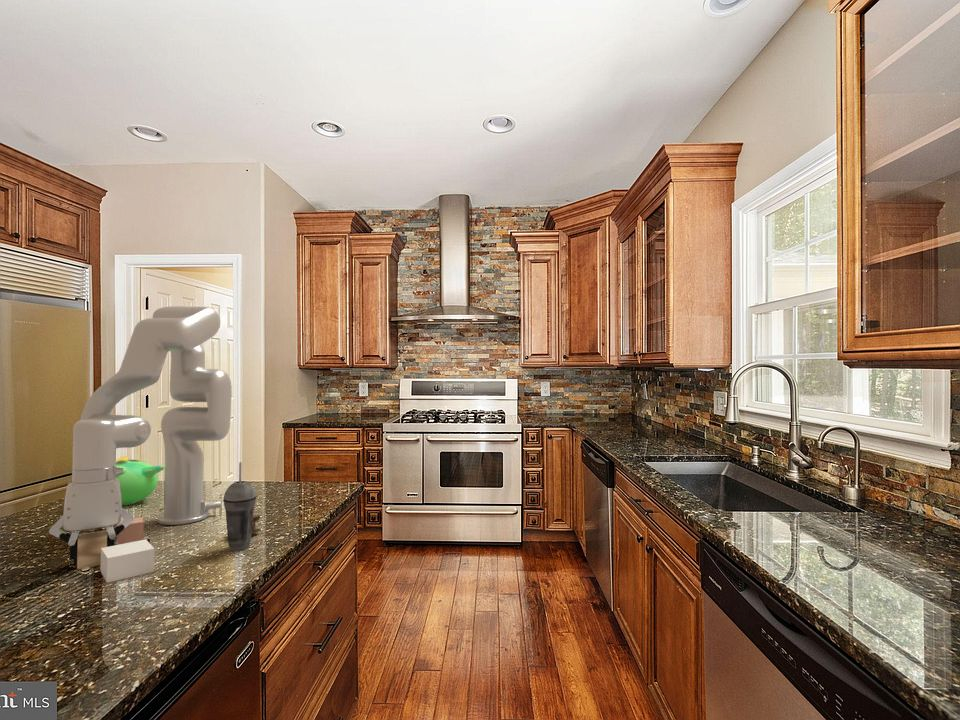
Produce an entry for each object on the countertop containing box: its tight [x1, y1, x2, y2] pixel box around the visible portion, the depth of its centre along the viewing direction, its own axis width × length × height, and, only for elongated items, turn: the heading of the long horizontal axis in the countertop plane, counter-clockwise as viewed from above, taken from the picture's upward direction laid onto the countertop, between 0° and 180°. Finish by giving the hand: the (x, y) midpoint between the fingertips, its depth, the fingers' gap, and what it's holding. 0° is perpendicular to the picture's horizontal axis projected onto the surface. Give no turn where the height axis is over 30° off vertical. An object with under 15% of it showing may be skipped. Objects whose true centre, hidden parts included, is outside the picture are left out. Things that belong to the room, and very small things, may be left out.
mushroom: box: [251, 512, 261, 536], centre depth 129 cm, size 8×8×6 cm
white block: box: [99, 539, 156, 583], centre depth 106 cm, size 8×8×5 cm
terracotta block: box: [116, 516, 145, 545], centre depth 121 cm, size 5×5×6 cm
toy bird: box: [115, 455, 165, 507], centre depth 158 cm, size 18×17×15 cm
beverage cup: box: [222, 461, 258, 551], centre depth 121 cm, size 7×7×20 cm
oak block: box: [76, 529, 108, 570], centre depth 110 cm, size 5×5×6 cm
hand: (92, 558), depth 110 cm, fingers closed on oak block, 5 cm apart
